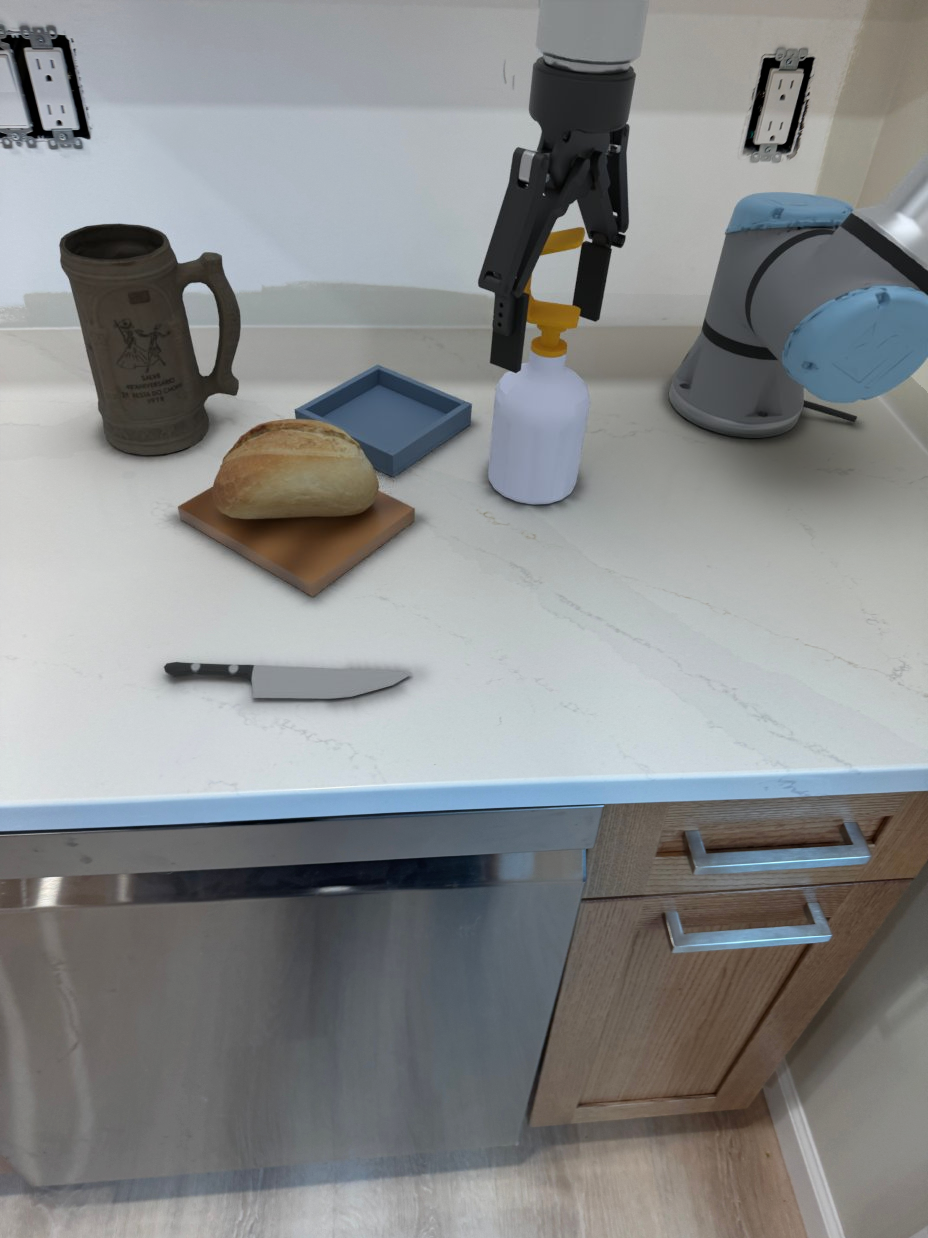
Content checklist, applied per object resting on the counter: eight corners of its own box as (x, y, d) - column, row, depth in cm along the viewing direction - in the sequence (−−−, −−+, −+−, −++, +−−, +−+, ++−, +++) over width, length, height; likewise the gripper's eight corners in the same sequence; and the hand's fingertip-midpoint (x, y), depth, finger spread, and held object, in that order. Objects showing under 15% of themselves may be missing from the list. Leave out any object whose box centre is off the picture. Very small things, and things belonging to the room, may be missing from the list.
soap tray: (470, 424, 92) (472, 403, 90) (393, 477, 84) (392, 455, 82) (378, 384, 97) (377, 363, 95) (296, 430, 89) (294, 409, 87)
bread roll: (215, 484, 79) (201, 410, 73) (370, 470, 82) (367, 398, 76) (218, 547, 72) (202, 470, 67) (386, 529, 75) (384, 455, 70)
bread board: (414, 520, 79) (414, 508, 78) (312, 597, 70) (311, 584, 69) (287, 456, 85) (285, 443, 84) (180, 519, 77) (177, 506, 76)
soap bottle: (570, 513, 81) (615, 258, 64) (480, 498, 82) (500, 243, 65) (579, 463, 87) (622, 220, 70) (495, 450, 88) (517, 207, 71)
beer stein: (108, 467, 82) (65, 263, 69) (89, 415, 89) (47, 220, 76) (258, 444, 89) (246, 253, 75) (230, 397, 95) (214, 214, 82)
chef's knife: (411, 706, 62) (413, 674, 65) (412, 696, 62) (413, 665, 64) (157, 698, 62) (166, 667, 64) (153, 689, 61) (163, 658, 63)
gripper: (621, 32, 68) (581, 287, 83) (439, 73, 53) (429, 375, 68) (704, 48, 65) (647, 309, 80) (536, 96, 50) (504, 407, 65)
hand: (547, 340), depth 74 cm, fingers open, 13 cm apart
